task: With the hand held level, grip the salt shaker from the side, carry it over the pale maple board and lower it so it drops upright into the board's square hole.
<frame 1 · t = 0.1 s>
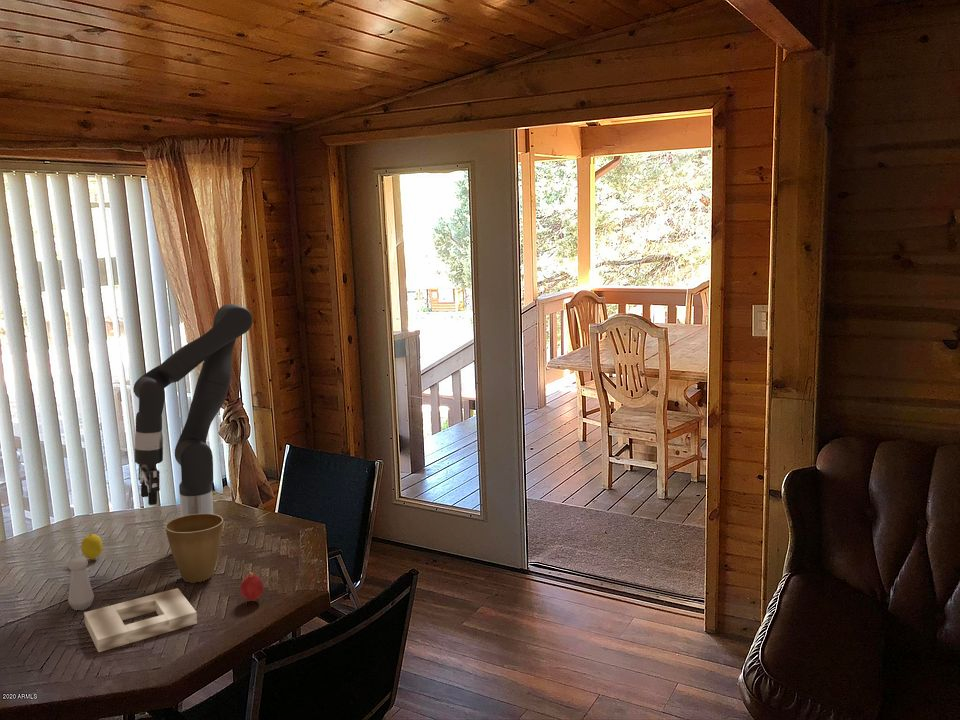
hand: (148, 500, 223), 17 cm above the table, tool pointing down, fingers open, 8 cm apart
plant pot: (197, 577, 212), on the table
salt shaker: (82, 607, 195), on the table
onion: (252, 602, 198), on the table
lemon: (93, 560, 223), on the table
hole board: (141, 623, 187), on the table
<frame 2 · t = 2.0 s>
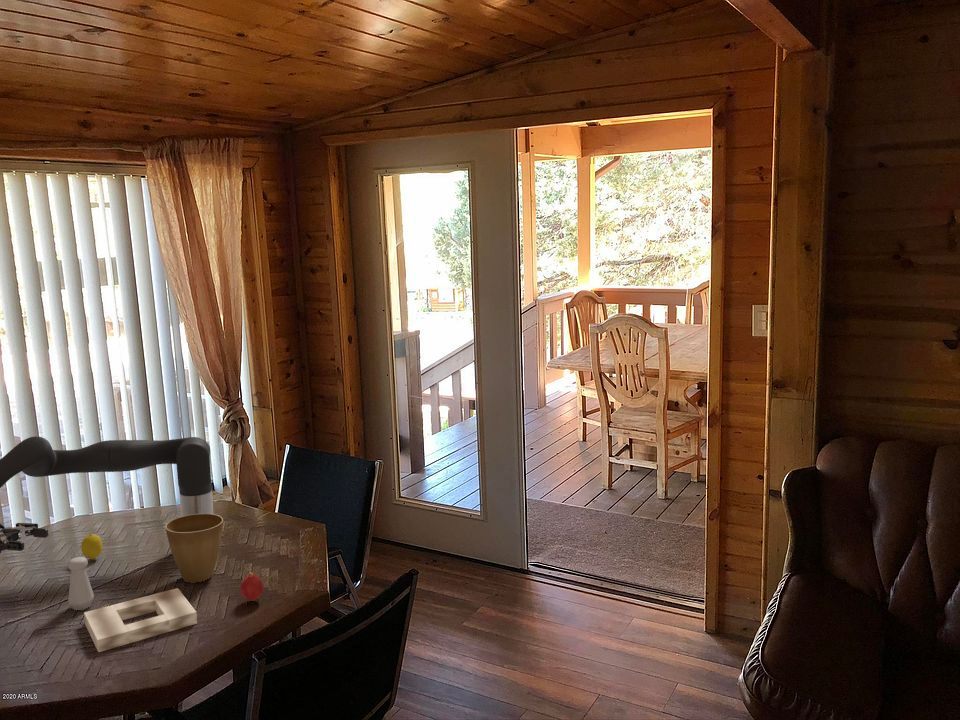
hand: (35, 539, 194), 17 cm above the table, tool horizontal, fingers open, 8 cm apart
nothing on the table moved.
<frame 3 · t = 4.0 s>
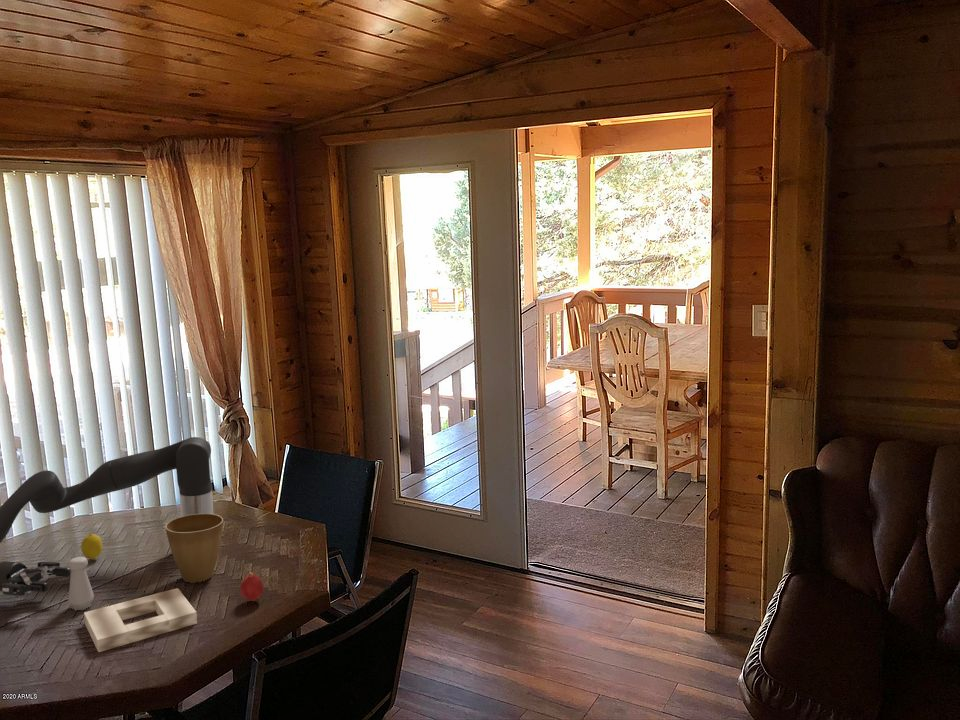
hand: (58, 579, 195), 7 cm above the table, tool horizontal, fingers open, 8 cm apart
nothing on the table moved.
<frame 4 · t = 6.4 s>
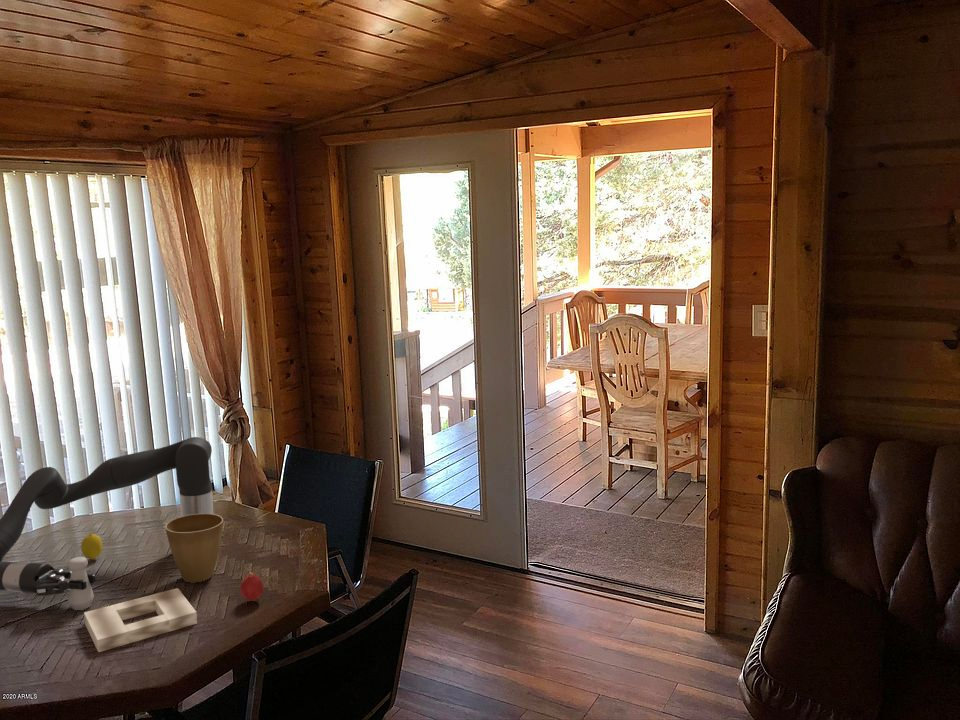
hand: (89, 581, 193), 7 cm above the table, tool horizontal, fingers closed on salt shaker, 3 cm apart
salt shaker: (81, 607, 195), on the table, touching gripper
everything else where it was.
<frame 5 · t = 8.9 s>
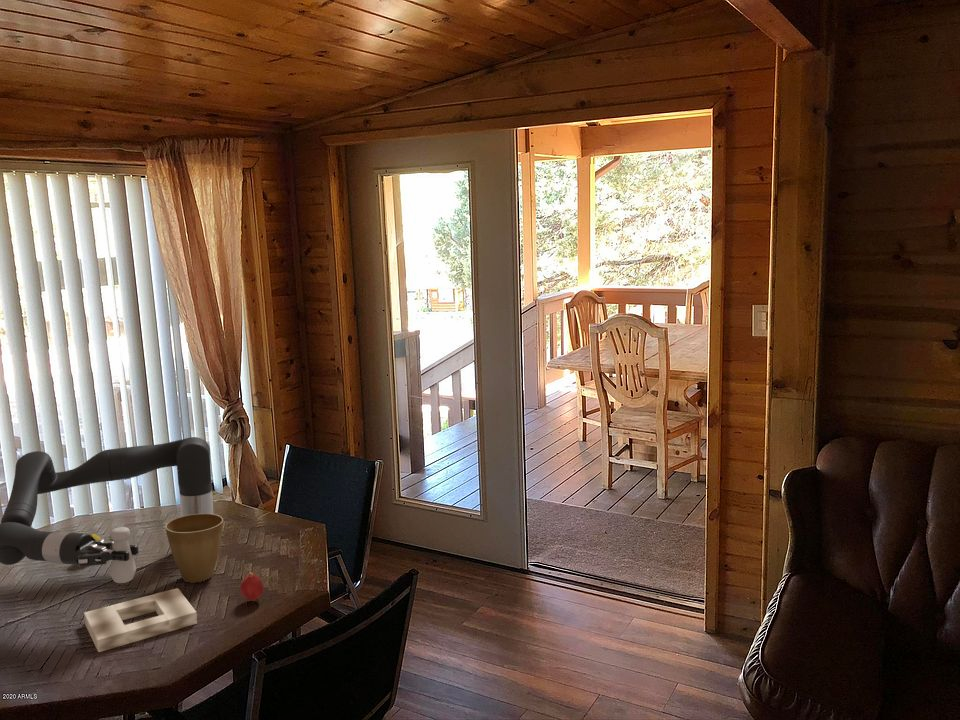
hand: (132, 553, 185), 18 cm above the table, tool horizontal, fingers closed on salt shaker, 3 cm apart
salt shaker: (123, 580, 187), point 10 cm above the table, touching gripper
everything else where it was.
when the fingers open (9 cm above the table, at t = 11.7 s): salt shaker drops 2 cm, resting in hole board.
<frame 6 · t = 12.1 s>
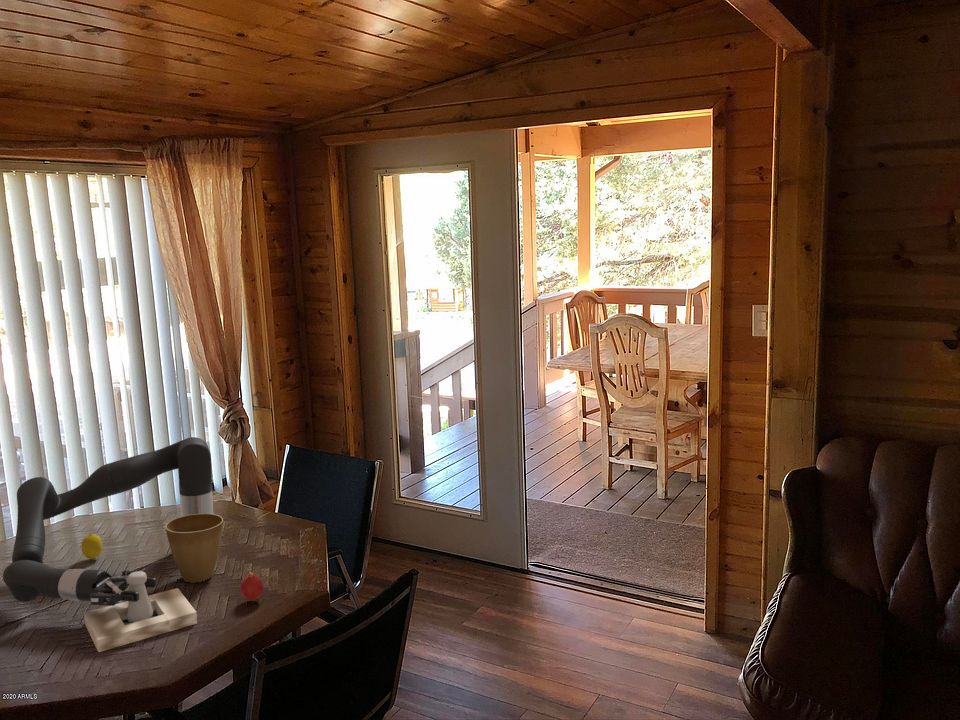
hand: (147, 589, 185), 9 cm above the table, tool horizontal, fingers open, 7 cm apart
salt shaker: (141, 624, 187), resting in hole board
everything else where it was.
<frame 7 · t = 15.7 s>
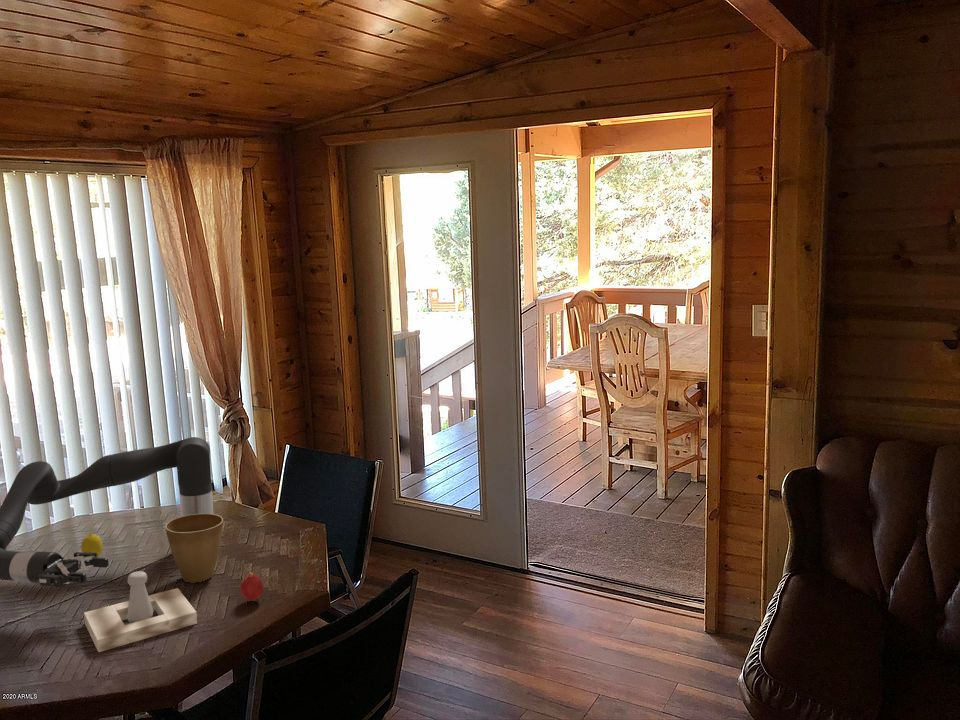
hand: (96, 570, 186), 13 cm above the table, tool horizontal, fingers open, 8 cm apart
nothing on the table moved.
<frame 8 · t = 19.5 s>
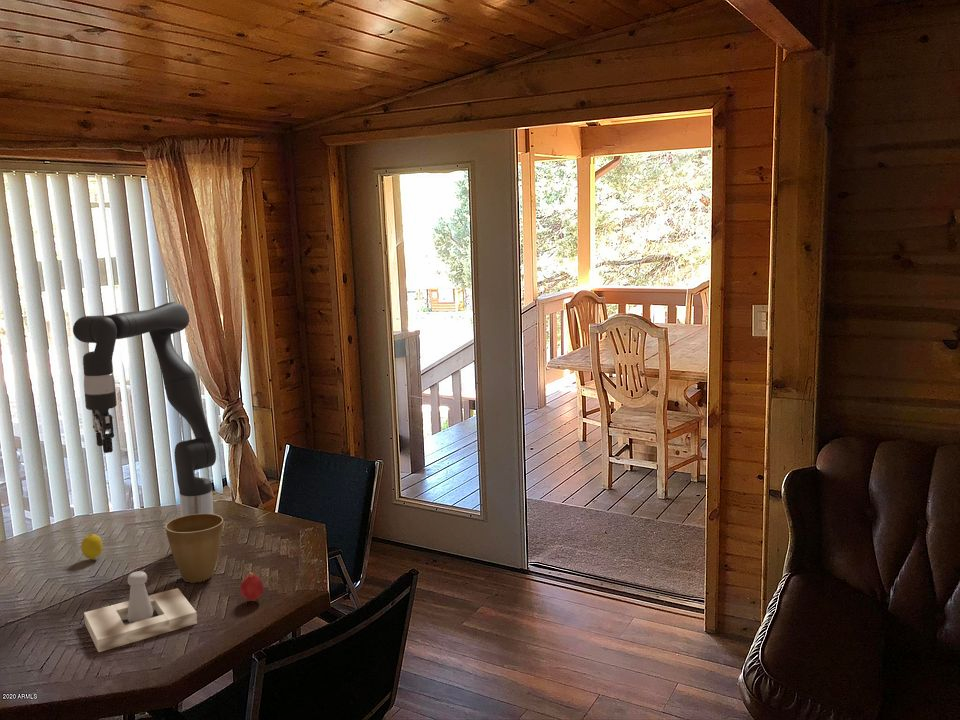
hand: (104, 448, 208), 36 cm above the table, tool pointing down, fingers open, 8 cm apart
nothing on the table moved.
at the end: salt shaker 0.0 cm off-centre on the hole board, point 0.0 cm above the hole board's base; salt shaker tilted 0°; the gripper is holding nothing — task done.
